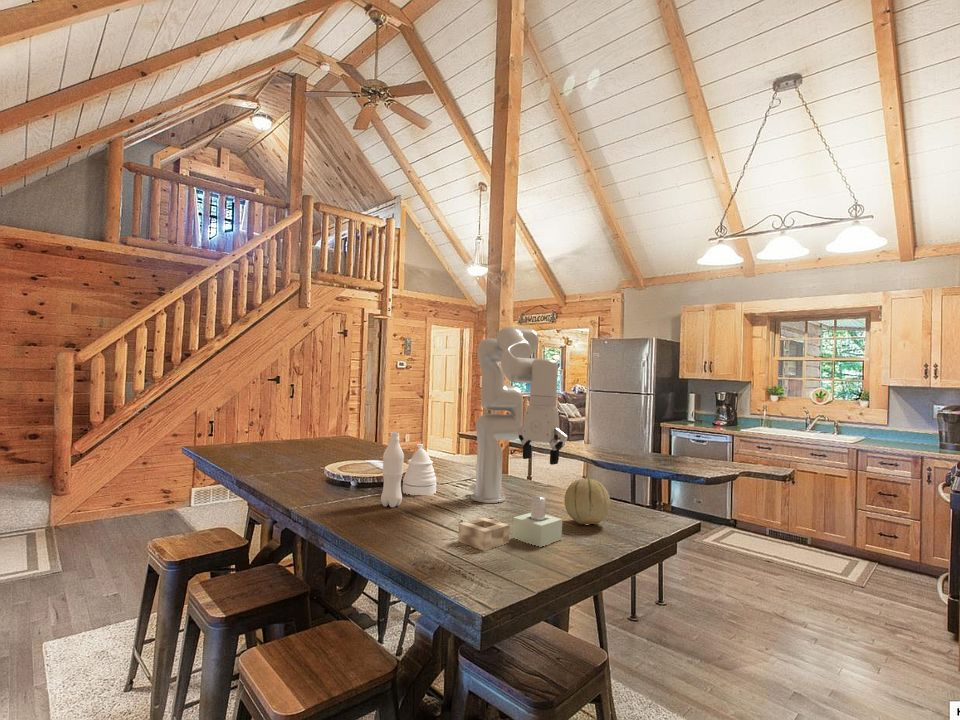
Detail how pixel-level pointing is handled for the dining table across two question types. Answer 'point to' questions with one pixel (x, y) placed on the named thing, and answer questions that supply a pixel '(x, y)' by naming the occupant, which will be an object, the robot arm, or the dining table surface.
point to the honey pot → (419, 474)
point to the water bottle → (392, 472)
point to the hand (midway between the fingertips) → (540, 461)
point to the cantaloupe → (587, 501)
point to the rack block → (537, 529)
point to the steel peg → (538, 508)
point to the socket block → (483, 533)
